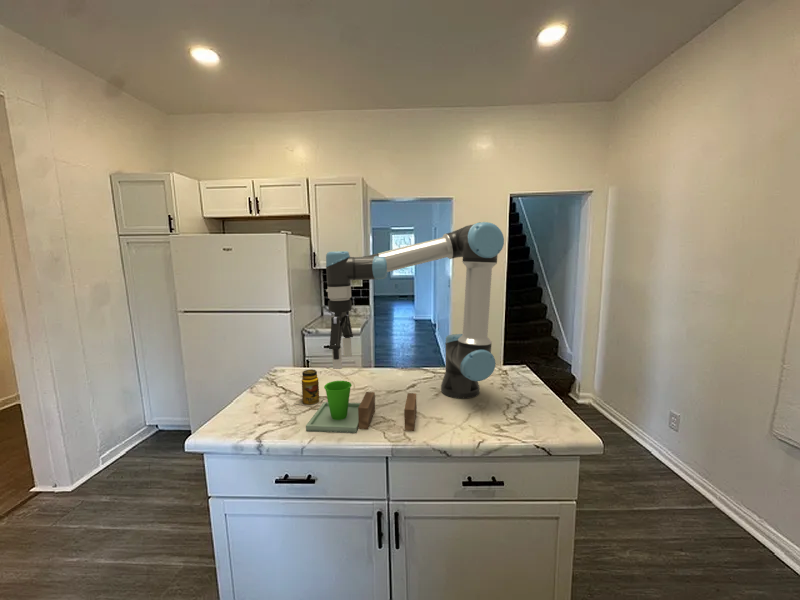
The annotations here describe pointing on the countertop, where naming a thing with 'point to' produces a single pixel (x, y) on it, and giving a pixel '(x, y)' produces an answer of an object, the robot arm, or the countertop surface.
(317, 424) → the tray
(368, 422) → the holder
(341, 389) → the cup
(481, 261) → the robot arm
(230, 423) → the countertop surface
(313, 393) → the condiment
